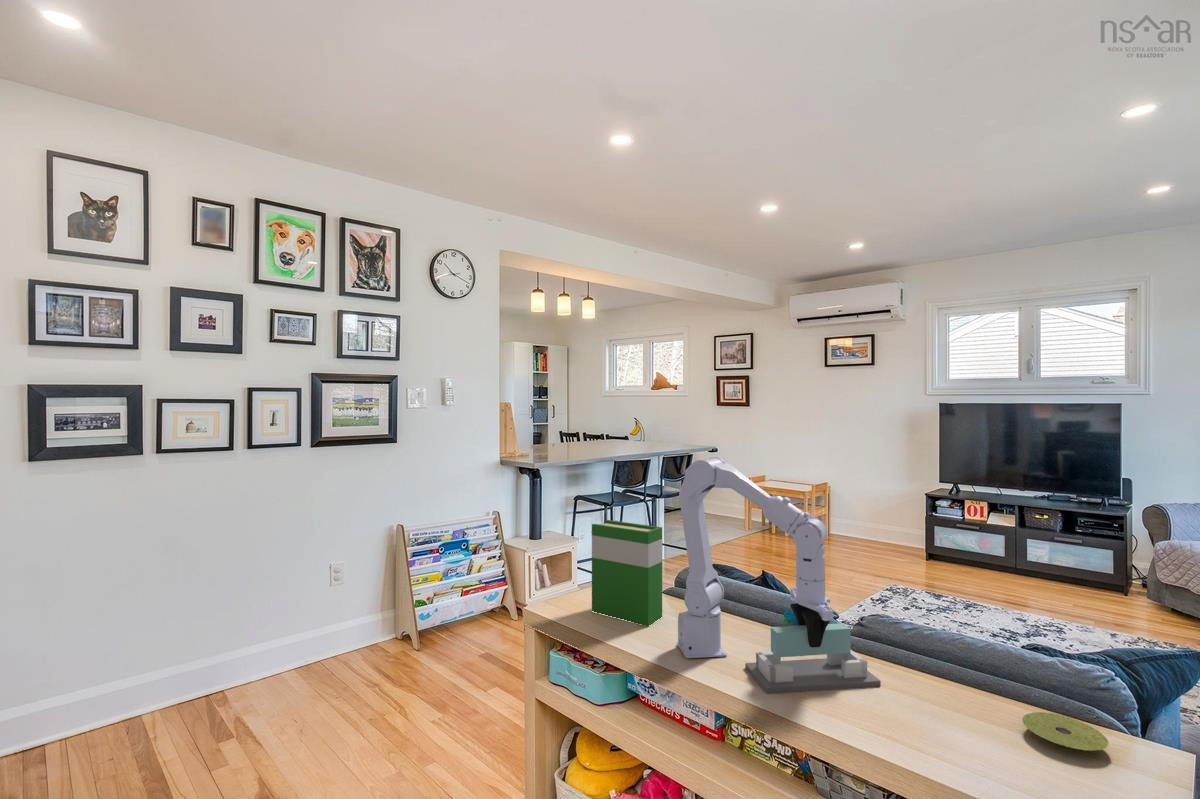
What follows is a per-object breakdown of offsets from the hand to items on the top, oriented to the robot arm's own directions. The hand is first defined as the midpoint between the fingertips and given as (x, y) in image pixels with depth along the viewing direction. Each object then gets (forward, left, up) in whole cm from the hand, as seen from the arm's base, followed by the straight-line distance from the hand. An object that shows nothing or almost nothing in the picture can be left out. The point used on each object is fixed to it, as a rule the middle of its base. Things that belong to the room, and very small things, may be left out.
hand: (810, 642), depth 119 cm
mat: (+31, -27, -7) cm, 42 cm away
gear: (+7, +19, -7) cm, 22 cm away
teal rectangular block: (0, 0, -2) cm, 2 cm away
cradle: (0, 0, -7) cm, 7 cm away
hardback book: (-32, +39, -7) cm, 51 cm away
